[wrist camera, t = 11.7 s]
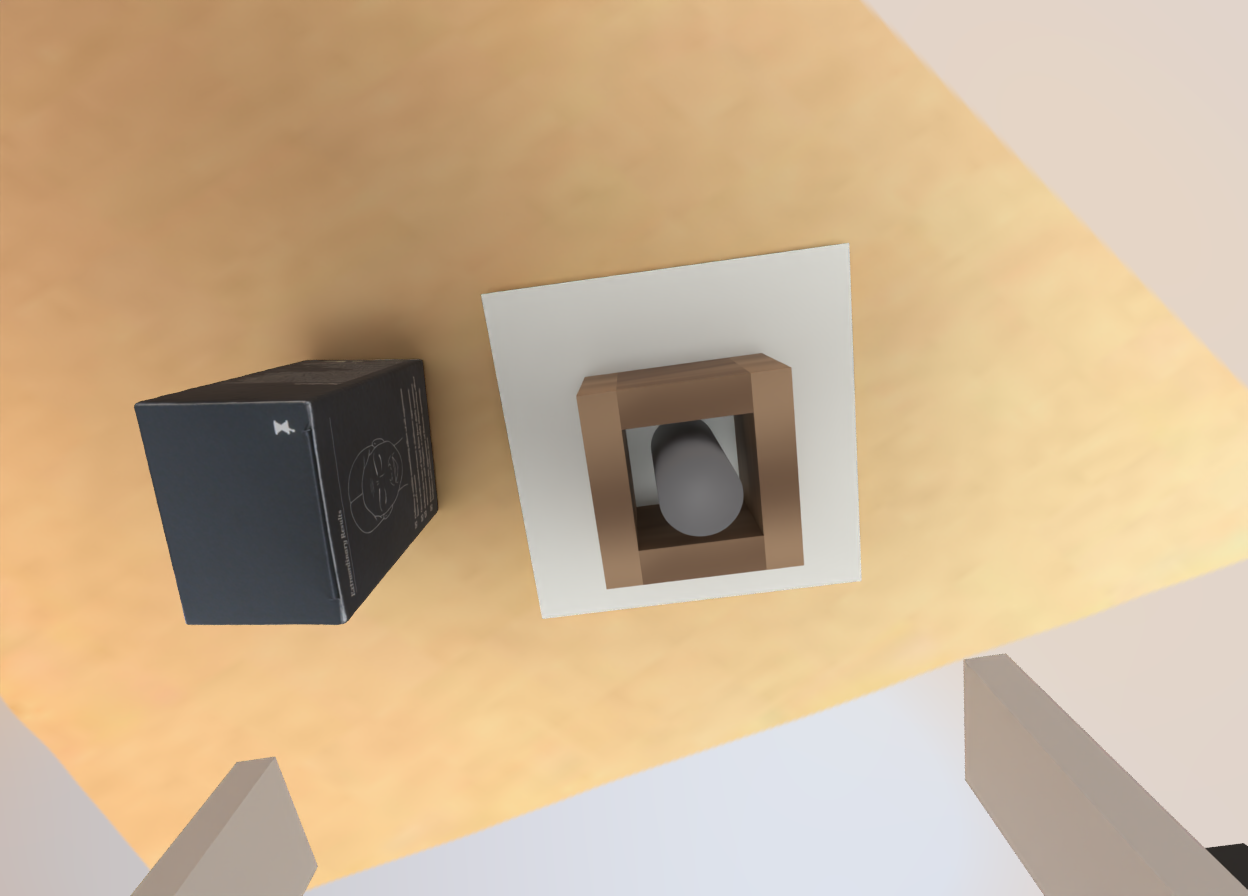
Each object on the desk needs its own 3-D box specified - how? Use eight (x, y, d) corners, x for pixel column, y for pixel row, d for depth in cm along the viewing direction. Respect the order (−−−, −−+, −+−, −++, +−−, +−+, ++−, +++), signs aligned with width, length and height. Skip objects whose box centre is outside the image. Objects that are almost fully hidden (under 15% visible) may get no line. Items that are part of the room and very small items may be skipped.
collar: (585, 376, 27) (575, 396, 22) (761, 352, 27) (791, 367, 22) (609, 539, 29) (606, 589, 24) (774, 519, 29) (804, 565, 24)
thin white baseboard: (486, 293, 28) (430, 297, 20) (839, 244, 27) (928, 227, 19) (545, 606, 32) (518, 713, 24) (852, 569, 31) (930, 666, 23)
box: (305, 359, 28) (125, 399, 18) (426, 357, 28) (312, 397, 18) (328, 515, 30) (178, 631, 20) (441, 514, 30) (347, 630, 20)
